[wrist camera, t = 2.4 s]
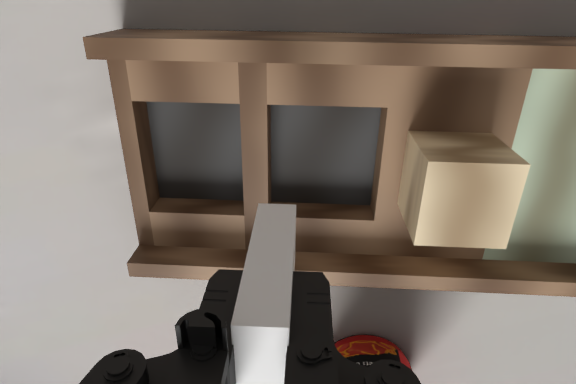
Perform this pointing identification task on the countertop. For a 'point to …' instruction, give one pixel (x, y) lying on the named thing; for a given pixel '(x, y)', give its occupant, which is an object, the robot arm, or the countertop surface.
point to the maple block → (460, 189)
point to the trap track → (338, 149)
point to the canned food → (370, 350)
